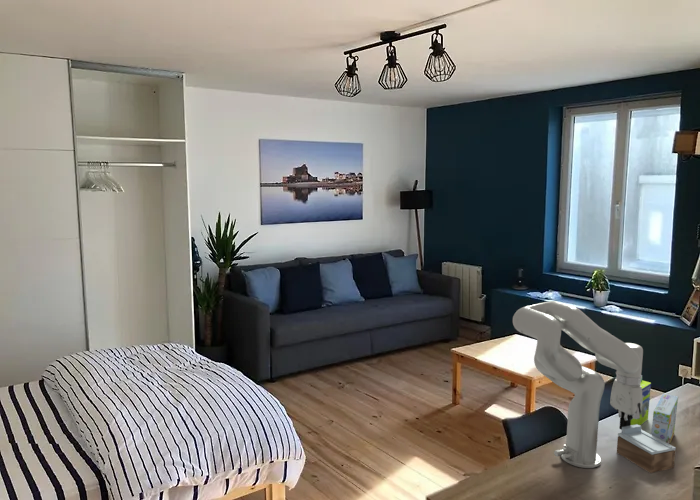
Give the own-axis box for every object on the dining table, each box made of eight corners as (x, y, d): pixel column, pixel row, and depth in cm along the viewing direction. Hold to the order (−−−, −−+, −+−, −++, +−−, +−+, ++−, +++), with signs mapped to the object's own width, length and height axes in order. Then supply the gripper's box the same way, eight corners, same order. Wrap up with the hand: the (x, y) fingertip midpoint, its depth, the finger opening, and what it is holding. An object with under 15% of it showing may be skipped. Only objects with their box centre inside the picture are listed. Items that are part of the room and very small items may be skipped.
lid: (651, 454, 177) (652, 446, 177) (617, 435, 190) (618, 427, 190) (675, 449, 181) (676, 441, 180) (640, 431, 194) (640, 423, 193)
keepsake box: (650, 473, 178) (651, 455, 177) (616, 452, 191) (617, 436, 190) (673, 468, 181) (675, 450, 181) (639, 448, 194) (640, 432, 194)
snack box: (666, 457, 189) (670, 415, 187) (648, 452, 192) (651, 410, 190) (675, 434, 205) (679, 395, 203) (658, 430, 209) (661, 391, 207)
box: (638, 427, 210) (642, 384, 208) (627, 424, 213) (630, 381, 211) (649, 419, 217) (652, 377, 215) (638, 416, 220) (641, 374, 218)
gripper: (603, 373, 197) (600, 422, 200) (637, 388, 183) (633, 440, 186) (620, 370, 200) (616, 419, 202) (655, 385, 186) (650, 437, 188)
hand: (624, 429), depth 194 cm, fingers closed
